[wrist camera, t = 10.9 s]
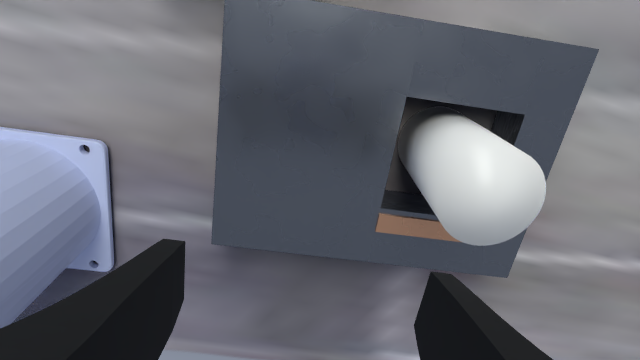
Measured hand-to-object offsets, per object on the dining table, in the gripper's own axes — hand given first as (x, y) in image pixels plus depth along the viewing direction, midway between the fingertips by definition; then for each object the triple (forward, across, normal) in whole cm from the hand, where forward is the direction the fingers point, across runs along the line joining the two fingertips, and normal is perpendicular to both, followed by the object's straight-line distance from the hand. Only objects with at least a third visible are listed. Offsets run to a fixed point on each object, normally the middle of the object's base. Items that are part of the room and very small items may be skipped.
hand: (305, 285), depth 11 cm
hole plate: (+10, -4, -2) cm, 11 cm away
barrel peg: (+10, -6, -2) cm, 13 cm away
